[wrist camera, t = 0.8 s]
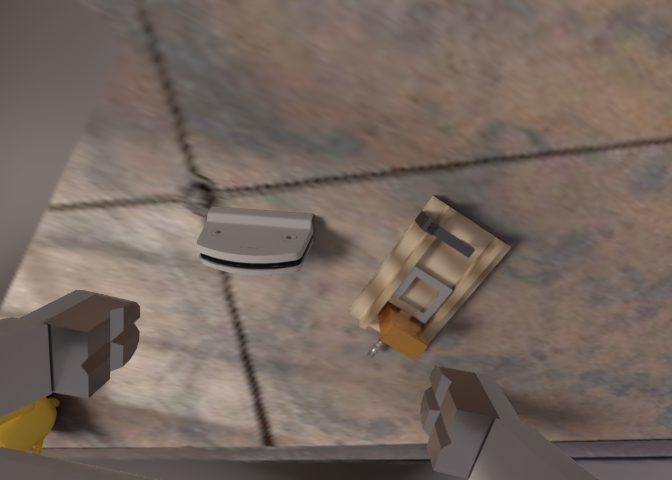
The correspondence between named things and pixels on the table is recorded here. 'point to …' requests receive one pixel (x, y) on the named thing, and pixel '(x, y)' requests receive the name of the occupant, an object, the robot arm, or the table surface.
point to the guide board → (431, 269)
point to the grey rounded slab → (255, 241)
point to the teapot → (28, 425)
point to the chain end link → (408, 317)
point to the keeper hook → (443, 234)
